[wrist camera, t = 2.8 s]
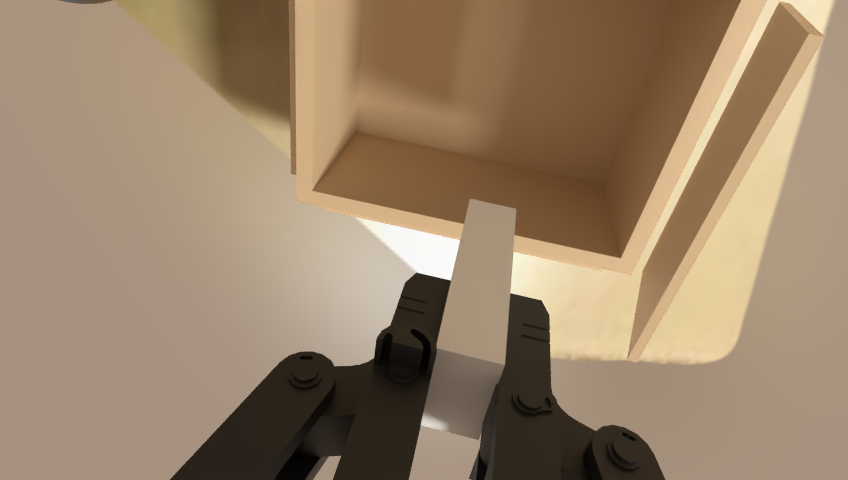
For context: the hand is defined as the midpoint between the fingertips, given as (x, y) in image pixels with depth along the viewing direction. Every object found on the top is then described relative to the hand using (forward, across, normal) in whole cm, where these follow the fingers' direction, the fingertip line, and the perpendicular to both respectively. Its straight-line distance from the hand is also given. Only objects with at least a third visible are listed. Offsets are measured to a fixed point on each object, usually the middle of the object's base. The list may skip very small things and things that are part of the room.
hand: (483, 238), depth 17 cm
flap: (+7, +9, 0) cm, 11 cm away
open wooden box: (+22, -1, 0) cm, 22 cm away
